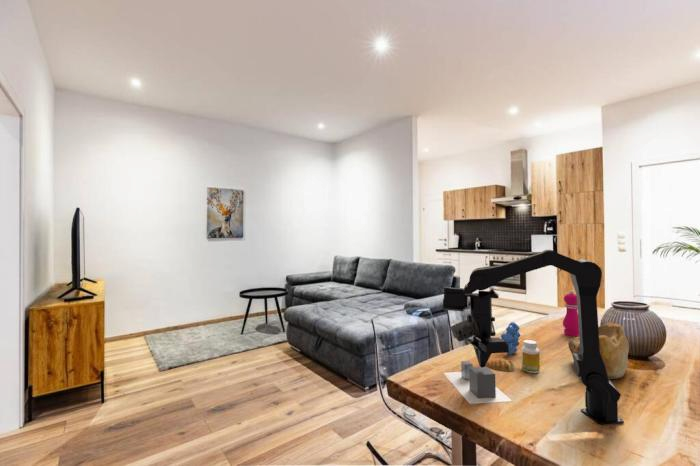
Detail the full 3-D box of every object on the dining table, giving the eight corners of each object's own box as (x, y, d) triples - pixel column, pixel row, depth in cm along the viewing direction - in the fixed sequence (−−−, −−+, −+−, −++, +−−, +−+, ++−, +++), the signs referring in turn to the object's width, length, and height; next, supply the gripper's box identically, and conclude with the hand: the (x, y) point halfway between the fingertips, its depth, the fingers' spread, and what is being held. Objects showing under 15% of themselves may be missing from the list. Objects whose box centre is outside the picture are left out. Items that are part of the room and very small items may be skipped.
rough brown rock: (582, 355, 129) (577, 316, 129) (638, 365, 115) (632, 321, 116) (556, 373, 114) (551, 329, 115) (616, 387, 101) (610, 337, 102)
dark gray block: (495, 397, 94) (495, 373, 94) (477, 398, 93) (477, 374, 93) (486, 388, 99) (486, 366, 99) (469, 389, 98) (469, 367, 98)
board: (512, 405, 92) (512, 401, 92) (469, 408, 91) (469, 403, 91) (478, 374, 112) (478, 370, 112) (443, 376, 111) (443, 372, 111)
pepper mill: (559, 333, 153) (558, 289, 153) (569, 331, 156) (568, 288, 156) (575, 337, 147) (574, 292, 147) (585, 335, 150) (584, 290, 150)
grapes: (506, 347, 137) (505, 317, 137) (524, 351, 132) (523, 320, 132) (495, 355, 128) (494, 323, 128) (514, 359, 124) (513, 327, 124)
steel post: (473, 379, 105) (472, 364, 105) (464, 380, 105) (464, 364, 105) (469, 376, 107) (469, 360, 107) (461, 376, 107) (461, 361, 107)
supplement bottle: (542, 374, 111) (541, 344, 111) (524, 373, 112) (524, 343, 112) (536, 367, 116) (536, 339, 116) (519, 366, 117) (519, 338, 117)
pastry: (485, 373, 113) (485, 362, 113) (483, 365, 119) (483, 355, 119) (516, 376, 110) (516, 364, 110) (512, 368, 117) (512, 357, 117)
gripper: (441, 306, 105) (442, 356, 105) (468, 322, 86) (469, 383, 86) (476, 305, 106) (477, 354, 106) (509, 320, 87) (510, 380, 87)
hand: (482, 366), depth 96 cm, fingers closed
